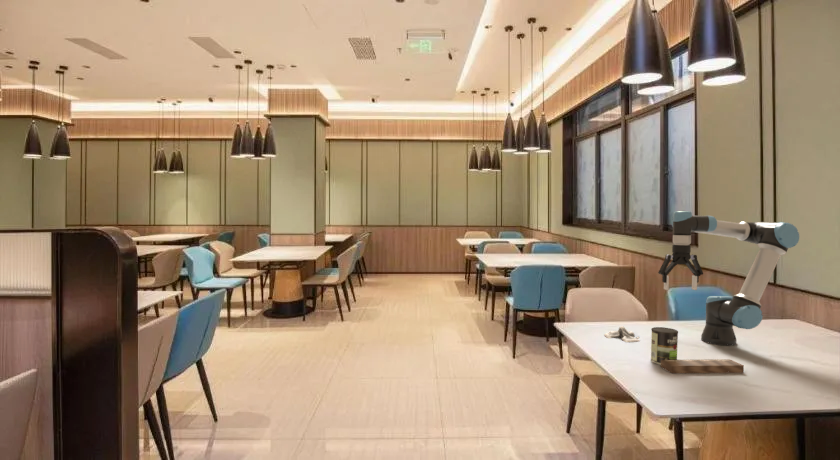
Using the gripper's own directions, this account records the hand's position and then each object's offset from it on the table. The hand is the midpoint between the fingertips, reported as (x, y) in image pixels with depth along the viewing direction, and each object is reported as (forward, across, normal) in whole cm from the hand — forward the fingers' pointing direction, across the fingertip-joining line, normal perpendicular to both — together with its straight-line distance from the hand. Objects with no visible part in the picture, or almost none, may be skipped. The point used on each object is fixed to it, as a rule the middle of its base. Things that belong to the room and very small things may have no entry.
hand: (680, 289), depth 225 cm
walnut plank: (+29, +7, +28) cm, 40 cm away
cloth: (+29, +14, -26) cm, 42 cm away
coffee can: (+29, +17, +17) cm, 38 cm away
